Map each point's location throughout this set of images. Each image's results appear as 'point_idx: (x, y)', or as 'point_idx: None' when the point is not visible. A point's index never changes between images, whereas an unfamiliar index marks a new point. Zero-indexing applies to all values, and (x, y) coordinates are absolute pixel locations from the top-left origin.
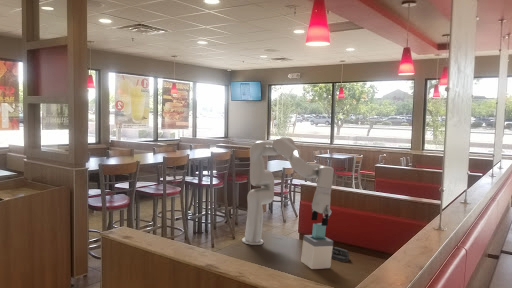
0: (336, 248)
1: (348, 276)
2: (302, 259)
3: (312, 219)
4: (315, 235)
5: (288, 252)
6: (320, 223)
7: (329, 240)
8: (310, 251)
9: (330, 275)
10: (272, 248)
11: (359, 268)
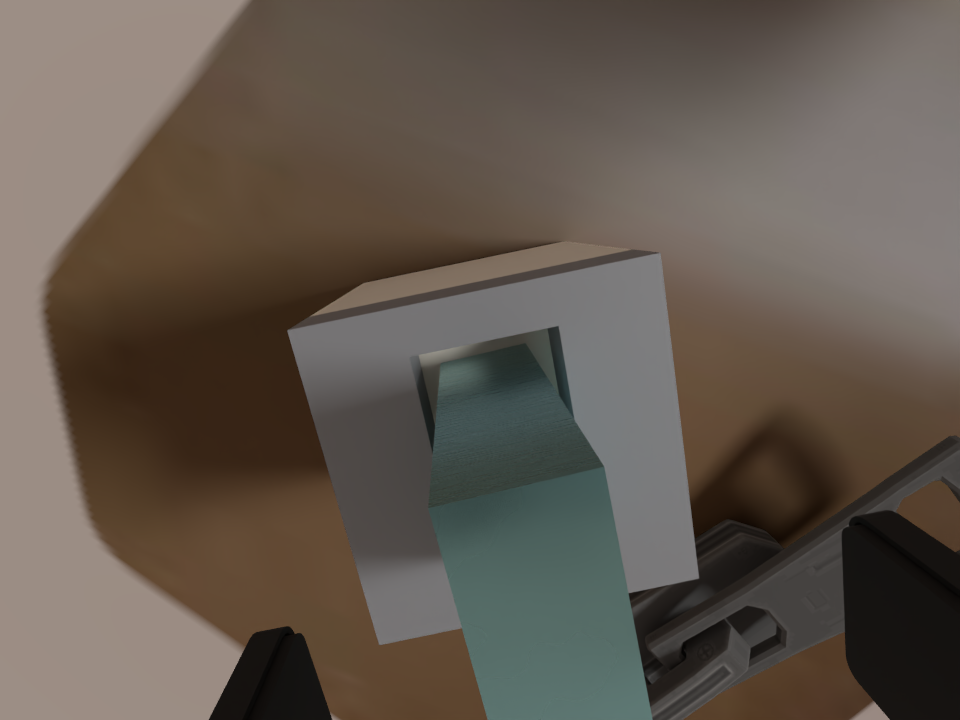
0: (702, 667)
1: (236, 550)
2: (542, 247)
3: (856, 536)
4: (439, 406)
5: (815, 190)
6: (597, 667)
7: (404, 600)
8: (406, 287)
9: (234, 406)
10: (950, 33)
11: (425, 700)
